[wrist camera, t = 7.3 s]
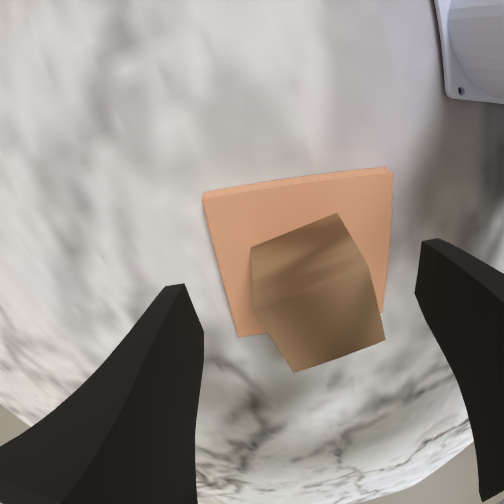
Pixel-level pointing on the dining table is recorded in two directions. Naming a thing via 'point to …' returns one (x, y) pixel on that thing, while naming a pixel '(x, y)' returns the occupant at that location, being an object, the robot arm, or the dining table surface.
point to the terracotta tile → (297, 226)
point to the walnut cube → (315, 294)
